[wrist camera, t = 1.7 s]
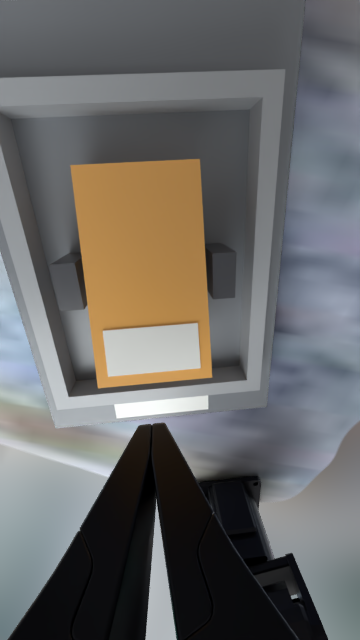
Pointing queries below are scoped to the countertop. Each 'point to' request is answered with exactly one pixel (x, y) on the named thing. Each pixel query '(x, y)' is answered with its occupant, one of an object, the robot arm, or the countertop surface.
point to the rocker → (144, 270)
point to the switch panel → (139, 146)
